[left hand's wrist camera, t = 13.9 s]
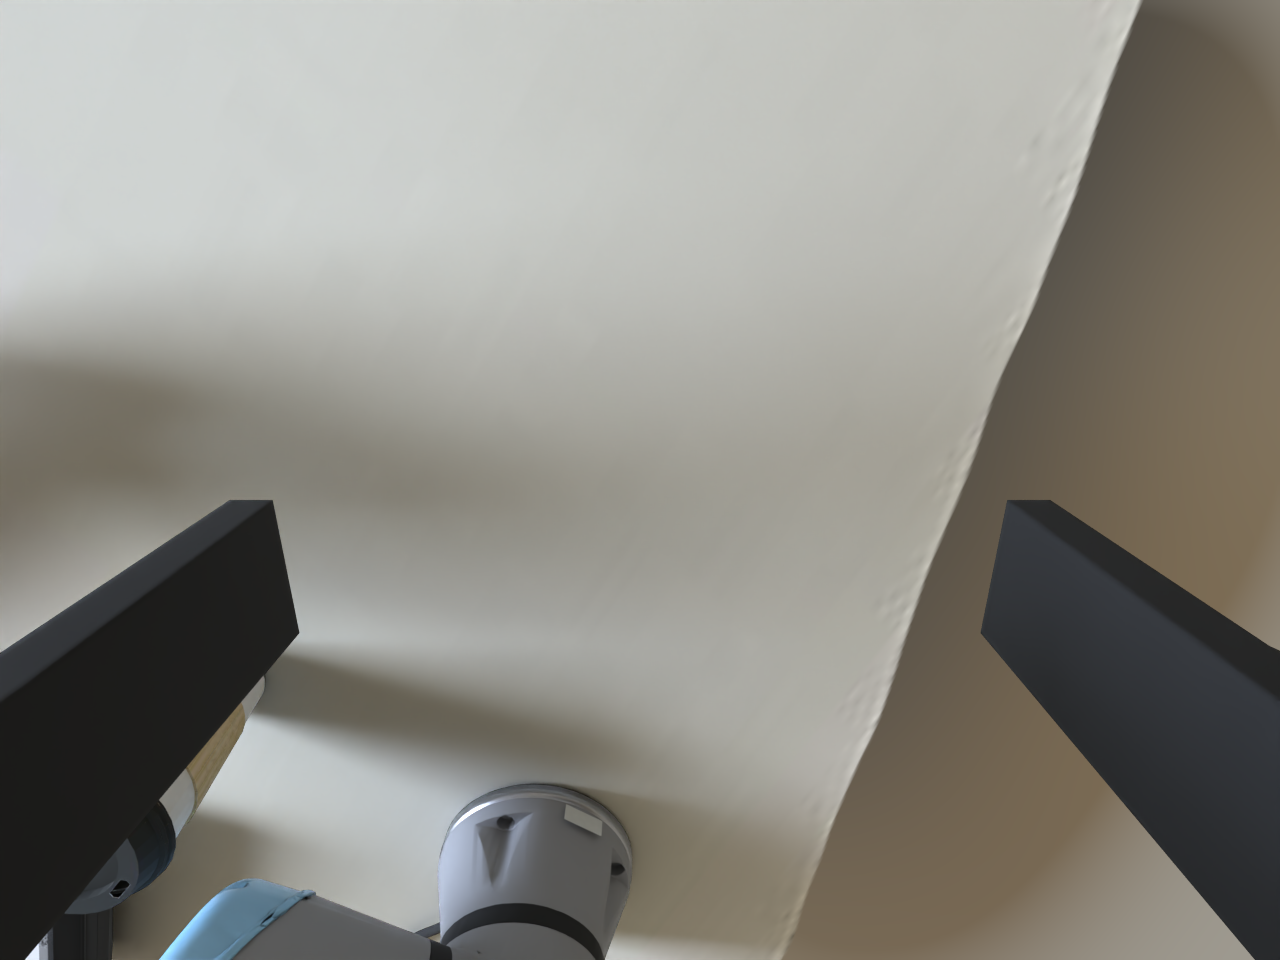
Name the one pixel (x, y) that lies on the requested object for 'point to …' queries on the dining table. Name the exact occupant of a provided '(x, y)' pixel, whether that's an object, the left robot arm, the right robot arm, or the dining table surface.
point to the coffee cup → (164, 820)
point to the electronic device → (78, 938)
